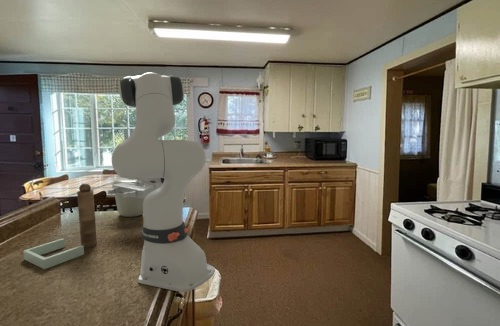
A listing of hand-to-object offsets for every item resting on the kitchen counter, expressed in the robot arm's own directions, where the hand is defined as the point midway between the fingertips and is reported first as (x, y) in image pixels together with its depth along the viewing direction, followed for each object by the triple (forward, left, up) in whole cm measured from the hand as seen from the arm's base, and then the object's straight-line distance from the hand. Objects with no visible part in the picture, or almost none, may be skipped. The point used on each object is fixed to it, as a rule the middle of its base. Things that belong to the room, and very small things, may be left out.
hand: (116, 194), depth 113 cm
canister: (+18, -21, -17) cm, 32 cm away
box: (0, +24, -16) cm, 29 cm away
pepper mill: (0, +12, -16) cm, 20 cm away
